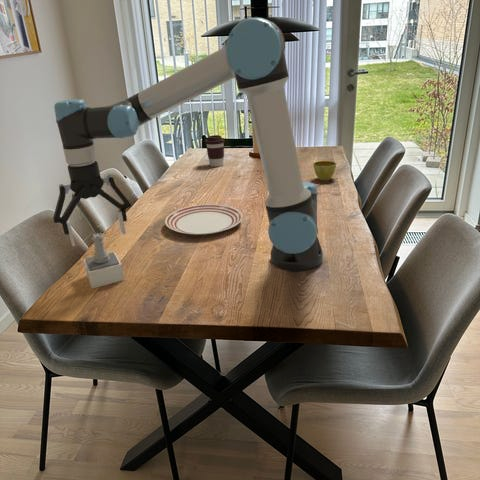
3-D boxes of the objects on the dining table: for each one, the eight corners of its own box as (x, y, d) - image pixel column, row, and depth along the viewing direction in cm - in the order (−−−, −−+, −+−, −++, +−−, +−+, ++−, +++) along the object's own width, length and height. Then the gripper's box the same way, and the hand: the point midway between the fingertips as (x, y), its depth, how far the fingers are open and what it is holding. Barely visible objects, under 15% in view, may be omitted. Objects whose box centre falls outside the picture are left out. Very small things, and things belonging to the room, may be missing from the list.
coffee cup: (225, 167, 236) (223, 137, 230) (206, 168, 236) (203, 138, 230) (226, 162, 245) (224, 133, 239) (208, 163, 245) (205, 135, 239)
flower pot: (333, 175, 211) (333, 159, 208) (338, 181, 202) (338, 165, 199) (311, 176, 211) (311, 161, 208) (315, 183, 202) (315, 167, 199)
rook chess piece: (104, 255, 132) (99, 230, 129) (113, 259, 130) (108, 233, 126) (90, 261, 129) (85, 235, 126) (100, 265, 127) (94, 239, 123)
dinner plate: (258, 223, 163) (258, 214, 162) (198, 248, 147) (197, 238, 145) (209, 207, 182) (209, 199, 181) (151, 227, 166) (149, 219, 164)
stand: (124, 280, 129) (121, 263, 127) (91, 288, 126) (88, 271, 124) (118, 267, 137) (114, 251, 135) (86, 275, 134) (83, 258, 132)
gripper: (127, 152, 126) (140, 224, 134) (29, 168, 117) (50, 244, 125) (133, 156, 119) (146, 232, 128) (31, 174, 110) (52, 254, 119)
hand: (98, 238), depth 127 cm, fingers open, 13 cm apart
